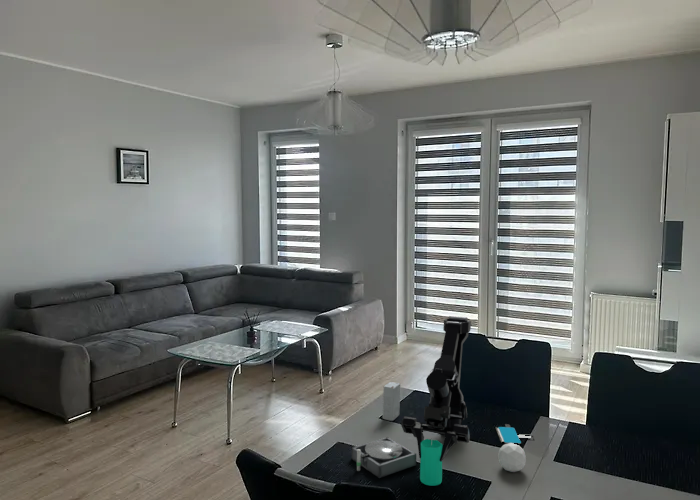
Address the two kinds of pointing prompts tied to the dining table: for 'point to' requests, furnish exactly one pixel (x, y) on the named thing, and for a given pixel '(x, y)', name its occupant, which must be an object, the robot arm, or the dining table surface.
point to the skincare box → (391, 401)
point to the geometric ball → (512, 457)
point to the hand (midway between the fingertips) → (430, 459)
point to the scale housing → (383, 467)
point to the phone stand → (509, 435)
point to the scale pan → (382, 450)
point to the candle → (431, 462)
